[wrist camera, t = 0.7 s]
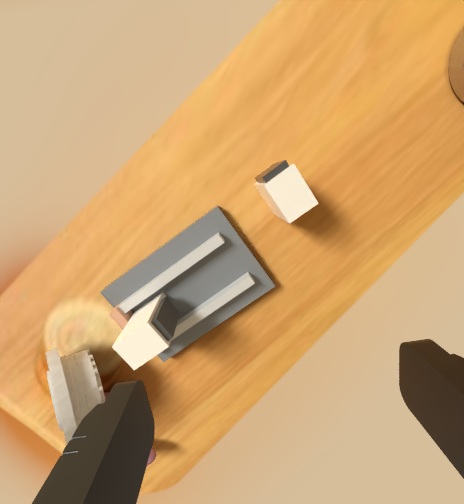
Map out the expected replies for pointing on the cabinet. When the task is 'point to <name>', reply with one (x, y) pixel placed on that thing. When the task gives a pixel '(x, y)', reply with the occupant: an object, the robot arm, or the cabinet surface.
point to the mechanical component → (73, 388)
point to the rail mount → (184, 290)
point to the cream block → (285, 191)
